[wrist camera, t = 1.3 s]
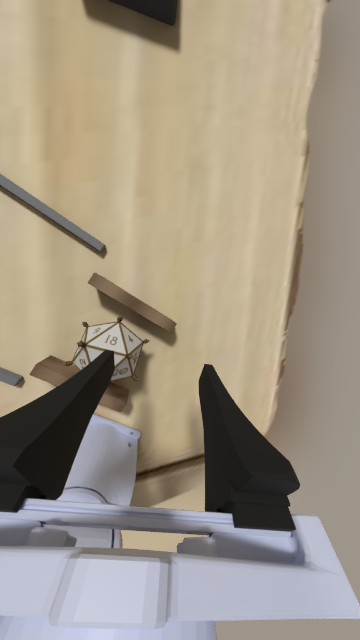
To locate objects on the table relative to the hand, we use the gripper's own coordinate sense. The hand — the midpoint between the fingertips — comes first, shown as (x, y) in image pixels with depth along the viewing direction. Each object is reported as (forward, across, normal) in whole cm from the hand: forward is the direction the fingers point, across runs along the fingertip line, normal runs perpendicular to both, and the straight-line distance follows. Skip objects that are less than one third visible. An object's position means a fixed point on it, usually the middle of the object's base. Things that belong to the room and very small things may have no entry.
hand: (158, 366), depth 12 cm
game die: (+10, +7, +6) cm, 13 cm away
